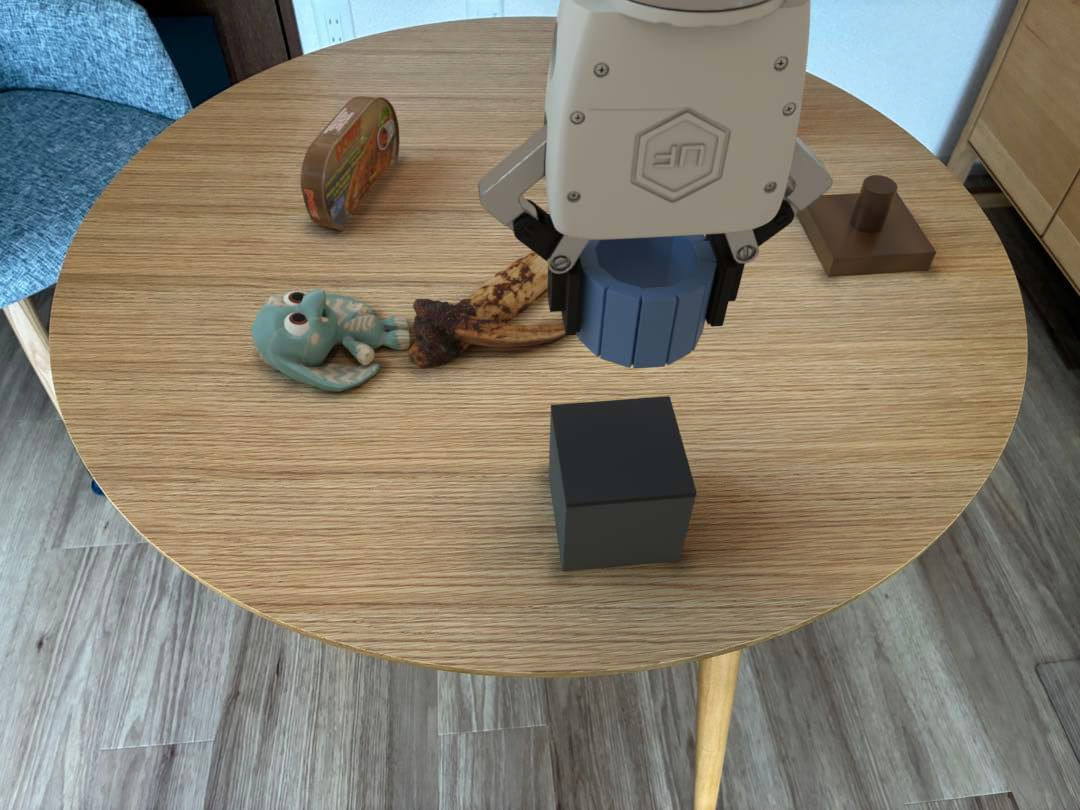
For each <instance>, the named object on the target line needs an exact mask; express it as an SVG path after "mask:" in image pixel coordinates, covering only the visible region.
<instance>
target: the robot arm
mask: <svg viewBox="0 0 1080 810" xmlns="http://www.w3.org/2000/svg"><path fill="white" fill-rule="evenodd" d="M811 4H812V3H811V0H560V1H559V5H558V9H557V14H556V19H555V24H554V30H553V35H552V40H551V41H552V42H551V47H550V55H549V64H548V72H547V80H546V91H545V100H544V110H543V120H542V121H543V122H542V126H541V127H540V128H539V129H538V130H537V131H536V132H534V133H532V135H531V136H530V137H528V138H527V139H525V141H524V142H523V143H521V144H520V145H519V146H518V147H517V148H515V149H514V150H512V152H510V154H509V155H507V156H506V157H505V158H504V159H503V160H501V161H500V162H499V163H498V164H497V165H495V166H494V167H493V168H491V170H489V171H488V172H487V173H486V174H485V175H484V176H483V177H481V178H480V180H478V184H477V186H478V196H479V197H478V199H479V204H480V206H481V207H482V208H483V209H484V210H485V211H486V212H487V213H488V214H490V215H491V216H492V217H493V218H494V219H495V220H497V221H498V222H499V223H500V224H502V226H504V227H506V228H509V229H510V231H512V232H513V235H514V237H515V238H516V240H517V241H519V242H520V243H522V244H523V245H524V246H526V248H528V249H530V251H534V252H535V253H536V254H538V255H539V256H540V257H542V258H543V259H544V260H546V261H547V263H548V286H547V289H546V290H547V302H548V309H549V312H550V313H556V312H559V313H561V318H562V322H563V324H564V330H565V335H566V336H565V337H568V336H570V337H571V336H576V333H577V332H580V327H581V313H582V299H583V285H584V274H583V269H582V264H581V260H580V255H581V253H582V252H583V250H584V248H585V247H586V245H587V244H588V242H589V241H590V240H608V239H630V238H651V237H669V236H687V235H704V236H706V237H707V238H708V240H707V241H710V244H711V246H712V249H713V252H714V254H715V257H716V260H717V269H716V273H715V278H714V283H713V287H712V292H711V296H710V301H709V306H708V310H707V315H706V319H705V323H706V324H707V325H710V327H712V328H713V327H715V328H716V327H723V326H724V323H725V318H726V314H727V310H728V305H729V302H735V301H736V300H737V297H738V294H739V289H740V285H741V282H742V278H743V274H744V270H745V266H746V264H749V263H751V262H752V261H755V259H756V258H757V257H758V255H759V253H760V248H759V247H761V246H762V245H763V244H765V243H766V242H767V241H768V240H770V239H771V238H773V237H775V235H777V234H778V233H779V232H781V231H783V230H784V229H786V228H787V227H788V226H789V225H791V224H792V223H793V221H794V219H795V214H797V212H798V211H799V210H800V211H802V210H804V209H805V208H806V207H808V206H809V205H810V204H811V203H813V202H814V201H815V200H817V199H818V198H819V197H820V196H822V195H825V193H827V192H828V191H829V190H831V188H832V186H833V184H834V180H833V178H832V177H831V174H830V173H829V171H828V169H827V167H826V165H825V164H824V162H823V161H822V160H821V159H820V158H819V157H818V156H817V155H816V154H815V153H814V152H813V151H812V150H811V149H810V147H808V146H807V145H806V144H805V142H804V141H802V139H801V138H800V137H798V130H799V124H800V118H801V113H802V104H803V99H804V89H805V83H806V81H805V80H806V72H807V63H808V54H809V44H810V27H811ZM544 177H545V191H546V193H545V195H546V201H547V202H546V203H547V207H548V209H547V210H548V212H547V211H545V210H544V209H543V208H542V207H540V206H539V205H538V204H537V203H535V201H533V200H531V199H528V198H526V197H524V193H525V192H527V191H529V189H530V188H532V187H533V186H534V185H535V184H536V183H538V182H539V181H540V180H541V179H543V178H544Z"/></svg>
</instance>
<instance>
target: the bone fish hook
mask: <svg viewBox="0 0 1080 810" xmlns="http://www.w3.org/2000/svg"><path fill="white" fill-rule="evenodd" d="M547 286H548V263H547V261H546V260H544V259H543V258H542V257H540V256H539V255H538V254H536V253H535V252H534V251H532V250H530V251H528V252H526V253H525V254H524V255H522V256H521V257H519V258H518V259H516V260H514V261H512V262H511V263H510V264H508V265H506V266H505V267H504V268H502V269H501V270H499V271H498V272H497V273H495V275H493V277H491V278H490V279H489V280H488V281H486V282H485V283H483V284H481V285H480V286H478V287H477V288H476V289H475V290H474V291H473V292H471V293H470V294H468V296H466V298H465V297H464V299H461V300H460V301H459V302H457V303H456V304H453V303H451V304H450V303H449V302H448V301H446V300H445V301H441V300H440V299H439V300H438V299H437V300H432V299H430V298H416V299H415V300H414V302H413V304H412V309H413V310H414V313H415V316H414V318H413V324H412V331H413V333H414V335H415V339H416V340H415V342H414V343H413V344H411V346H410V347H409V349H408V358H409V359H410V360H411V361H412V363H413V364H414V365H415V366H417V367H419V368H420V369H422V370H425V369H431V368H433V367H436V366H440V365H442V364H443V365H447V364H448V363H450V361H451V360H453V359H458V358H459V357H460V356H461V355H462V353H463V352H464V351H465V350H467V349H468V348H469V347H470V346H472V345H477V346H485V347H493V348H495V347H498V348H499V347H500V348H509V347H510V348H511V347H512V348H513V347H514V348H516V347H525V346H534V345H539V344H545V343H551V342H554V341H557V340H560V339H562V338H564V337H567V336H566V335H565V330H564V324H563V321H557V322H547V323H530V324H529V323H527V324H525V323H524V324H523V323H522V324H519V323H507V321H509V320H513V319H514V318H515V317H516V316H517V315H518V314H520V313H522V312H524V311H525V310H526V309H527V308H529V307H530V306H531V305H532V304H533V303H534V301H535V300H536V299H537V298H538V297H539V296H540V295H541V294H543V292H545V291H546V290H547Z"/></svg>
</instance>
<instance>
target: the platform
mask: <svg viewBox="0 0 1080 810" xmlns="http://www.w3.org/2000/svg"><path fill="white" fill-rule="evenodd" d="M795 214H796V217H797V219H798V221H799V223H800V225H801V227H802V229H803V231H804V233H805V235H806V237H807V238H808V241H809V242H810V245H811V247H812V248H813V251H814V253H815V254H816V257H817V258H818V260H819V262H820V264H821V266H822V268H823V270H824V272H825V274H826V276H827V278H834V277H835V278H836V277H851V276H867V275H869V276H870V275H881V274H882V275H884V274H885V275H886V274H898V273H899V274H900V273H915V272H929V269H930V267H931V265H932V263H933V261H934V259H935V256H936V253H937V250H936V249H935V248H934V246H933V245H932V243H931V242H930V240H929V239H928V237H927V236H926V234H925V232H924V231H923V229H922V228H921V226H920V225H919V223H918V222H917V220H916V218H915V217H914V216H913V214H912V213H911V211H910V210H909V208H908V207H907V205H906V203H905V202H904V200H903V199H902V197H901V196H900V194H899V192H898V184H897V183H896V181H895V180H893V179H892V178H890V177H888V176H886V175H881V174H879V175H878V174H872V175H868V176H866V177H865V178H863V182H862V185H861V188H860V191H859V192H852V193H835V194H833V193H832V194H823V195H822V196H820V197H819V198H818V199H817V200H815V201H814V202H813V203H811V204H810V205H809V206H808V207H806V208H805V209H804V210H802V211H800V210H799V211H798V212H797V213H795Z"/></svg>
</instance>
